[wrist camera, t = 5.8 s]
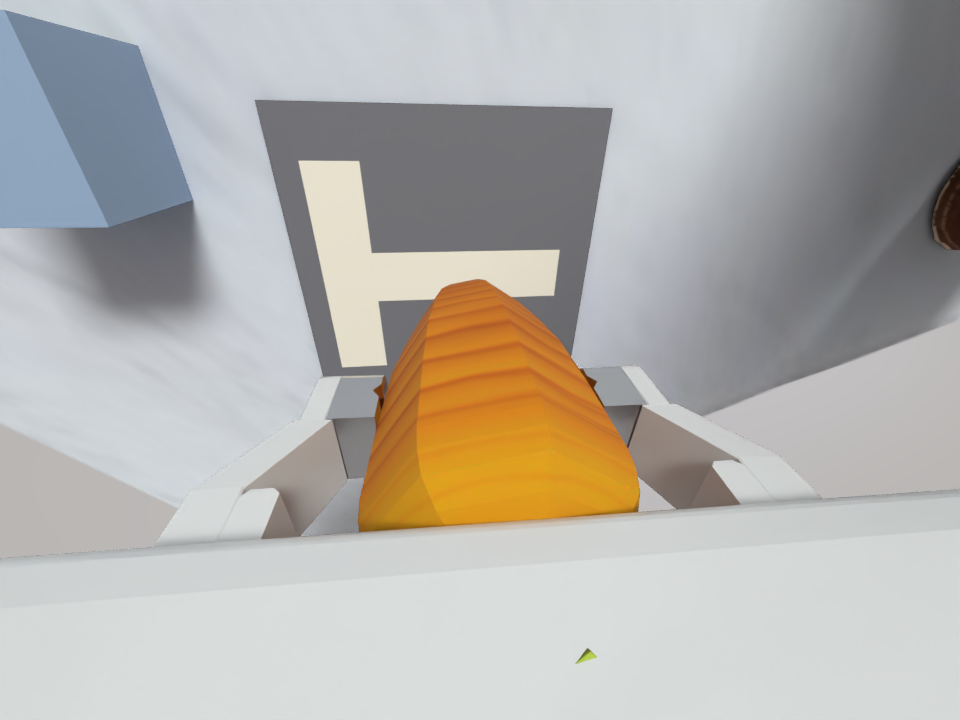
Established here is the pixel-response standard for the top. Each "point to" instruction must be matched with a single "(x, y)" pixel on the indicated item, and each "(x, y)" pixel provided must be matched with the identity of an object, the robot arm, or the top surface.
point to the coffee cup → (948, 214)
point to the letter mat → (431, 213)
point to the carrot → (491, 425)
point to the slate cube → (79, 130)
